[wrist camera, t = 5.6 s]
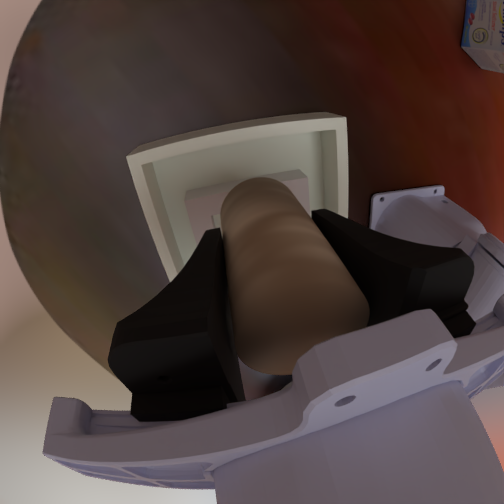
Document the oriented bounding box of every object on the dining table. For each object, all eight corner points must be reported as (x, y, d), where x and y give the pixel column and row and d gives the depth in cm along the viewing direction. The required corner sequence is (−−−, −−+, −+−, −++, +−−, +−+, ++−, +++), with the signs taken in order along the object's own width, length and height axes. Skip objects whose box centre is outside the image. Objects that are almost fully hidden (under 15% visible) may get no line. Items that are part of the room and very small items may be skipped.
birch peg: (294, 171, 13) (379, 267, 6) (299, 240, 15) (359, 356, 9) (213, 185, 13) (221, 301, 6) (227, 253, 15) (246, 384, 9)
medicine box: (465, -2, 11) (524, -2, 4) (487, 22, 12) (543, 29, 5) (458, 47, 15) (525, 55, 8) (481, 70, 16) (542, 85, 9)
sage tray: (325, 111, 18) (345, 117, 15) (329, 284, 28) (341, 307, 25) (138, 145, 18) (126, 156, 15) (195, 312, 27) (195, 339, 24)
